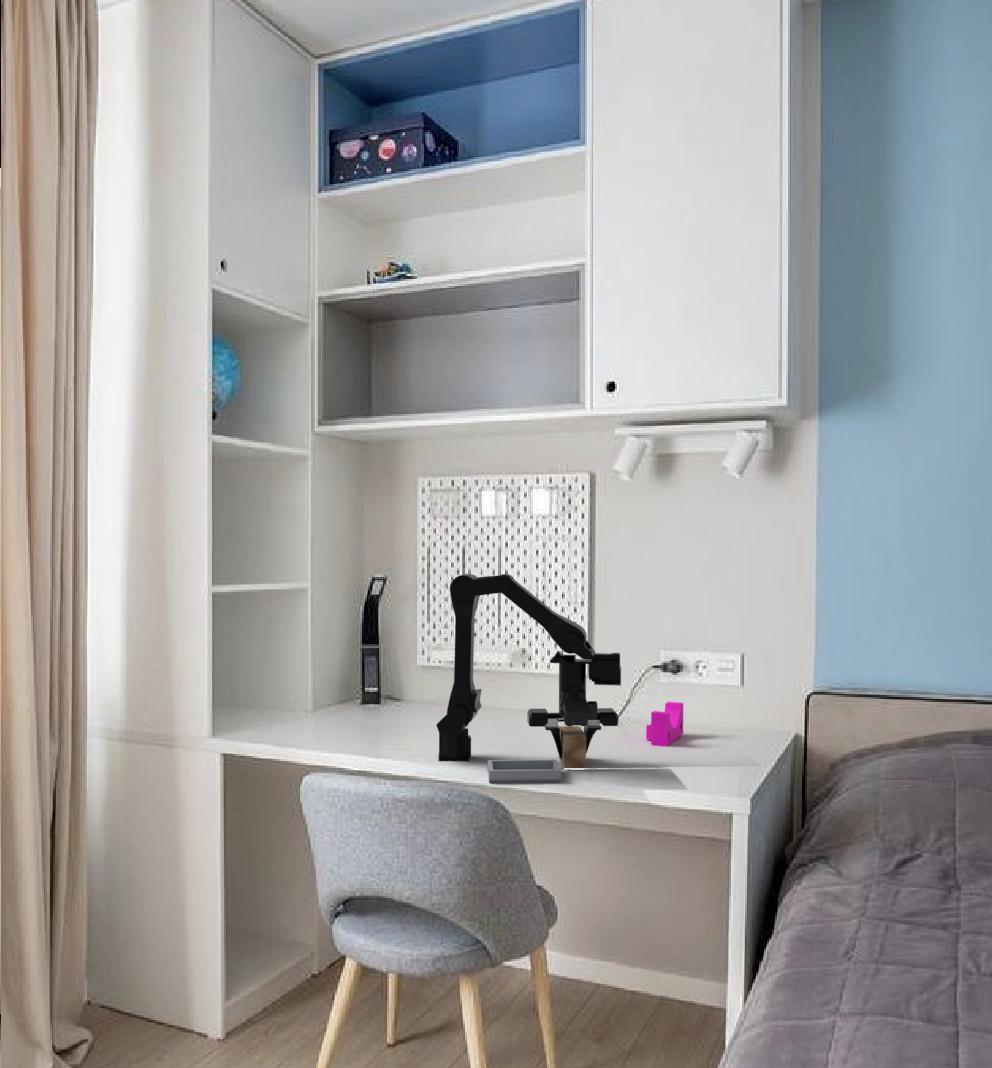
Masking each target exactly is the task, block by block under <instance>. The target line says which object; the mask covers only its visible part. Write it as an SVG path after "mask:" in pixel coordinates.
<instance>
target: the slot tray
mask: <svg viewBox="0 0 992 1068" xmlns="http://www.w3.org/2000/svg"><path fill="white" fill-rule="evenodd" d="M487 775H488V783H489V784H525V783H526V784H534V783H536V784H537V783H538V784H539V783H540V784H541V783H543V784H545V783H562V769H561V768H560V765H559V762H558V761H557V759H488V760H487Z"/></svg>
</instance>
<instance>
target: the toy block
mask: <svg viewBox="0 0 992 1068" xmlns="http://www.w3.org/2000/svg"><path fill="white" fill-rule="evenodd" d="M650 716H651V717H650V719H651V720H650V721H651V722H650V724H645V726H646V727H645V728H646V729H645V730H646V731H645V736H646V737H645V741H646V740H647V741H650V746H651V745H652V746H659V747H668V746H669V745H671V744H672V743H674V741H676V740H677V739H678V738H679V737H682V735H684V702H679V701H675V702H674V701H667V702H665V705H664V711H660V710H659V711H657V710H653V711H651V712H650Z"/></svg>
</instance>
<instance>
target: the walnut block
mask: <svg viewBox="0 0 992 1068" xmlns="http://www.w3.org/2000/svg"><path fill="white" fill-rule="evenodd" d="M558 726H559V725H558ZM559 728H560V739H561V747H562V758H560V757H559V756H558V759H559V761H560V762H561V764H562V767H564V768H586V769H587V753H586V736H585V734H584V730H583V729H582V726H581V725H573V726H566V725H565V726H563V725H562V726H559Z"/></svg>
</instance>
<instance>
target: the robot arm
mask: <svg viewBox="0 0 992 1068" xmlns="http://www.w3.org/2000/svg"><path fill="white" fill-rule="evenodd" d="M449 592H450V593H449V595H450V601H451V606H452V609H453V613H454V617H455V618H454V619H455V620H454V621H455V622H454V624H455V625H454V626H455V627H454V630H455V631H454V664H453V665H454V667H453V684H452V687H451V692H450V694H449V695H450V696H449V700H448V704H447V709H446V714H445V715H444V717H442V718H441V719H440V720H439V721H438V722H437V724H436V728H437V731H438V759H437V760H438V762H469V761H470V758H471V757H472V736H471V735H470V734H469V728H467V727H468V726H469V724H470V723H471V722H472V721H473V720H474V719H475V717H477V715H478V714H479V713H478V712H479V710H480V709H481V708H482V707H483V706H482V703H481V696H482V688H476V687H475V684H474V651H475V650H474V649H475V616H476V612H477V608H478V606H479V602H480V597H481V596H487V595H494V594H502V595H504V597H506V598H507V599H508V600H509V601H510V602H512V603H513V604H514V605H516V606H517V607H518V608H519V609H520V610H521V611H522V612H525V614H527V615H528V616H529V617H530V618H532V620H534V621H535V622H536V623H537V624H539V625H540V626H542V627H543V629H545V631H546V632H547V634H548V635H549V636H550V638H551V639H552V640H553V642H555V644H556V645H557V646H558V647H559V648H560V649H561V650H562V652H564V653H566V654H563V653H562V652H560V650H557V651H556V652H555V655H554V656H552V657H551V658H550V660H549V663H550V664H558V712H548V711H547V708H529V709H528V710H527V712H526V713H527V714H526V715H527V717H526V718H527V723H528V727H541V728H542V727H544V729H545V730H546V731H550V732H551V735H552V737H553V741H554V744H555V747H556V750H557V753H558V758H559V757H560V758H562V747H561V739H560V728H559V723H564V725H565V726H580V727H583V732H584V734H585V736H586V754H587V753H588V750H589V747H590V744H591V742H592V739H593V737H594V735H595V733H597V731H601V730H602V729H603V728H602V726H603V727H617V726H619V715H618V713H617V712H616V711H615V710H614V709H613V707H598V701H597V700H589V701H587V665H588V680H589V681H591V682H593V684H594V686H617V687H618V686H622V666H621V653H620V652H611V653H608V652H607V653H604V652H603V653H599V652H598V653H597V652H596V651H595V649H594V647H593V646H592V645H591V644H590V642H589V641H588V640H587V639H588V637H587V635H588V634H587V632H586V629H584V627H583V626H581V625H580V624H578V623H577V622H575V621H573V620H571V619H569V618H568V617H565V616H562V615H561V614H559V613H557V612H555V611H554V610H552V609H551V608H550V607H549V606H548V605H546V604H545V603H544V602H543V601H542V600H541V599H539V598H537V596H535V595H534V594H533V593H532V592H531V591H529V590H528V589H527V588H525V587H524V586H523V585H522V584H521V583H520V582H518V581H517V580H516V579H515V578H514V576H513V575H511V574H509V573H502V574H500V575H489V576H486V575H485V576H476V575H474V574H473V573H472V574H471V573H465V574H459V575H458V576H456V577H455V578H453V579H452V580H451V582H450V584H449ZM577 657H580V658H577Z"/></svg>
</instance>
